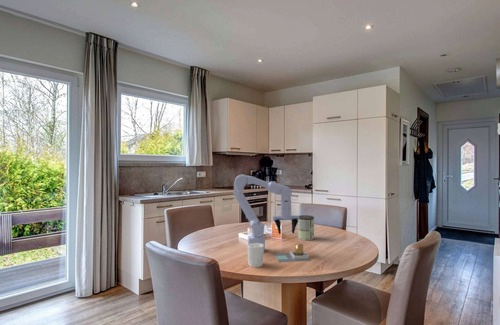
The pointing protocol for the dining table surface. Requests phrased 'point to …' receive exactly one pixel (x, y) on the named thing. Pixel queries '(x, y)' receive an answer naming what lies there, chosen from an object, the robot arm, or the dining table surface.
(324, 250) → the dining table surface
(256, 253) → the white cup
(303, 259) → the gray board
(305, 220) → the coffee can
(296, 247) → the cell
